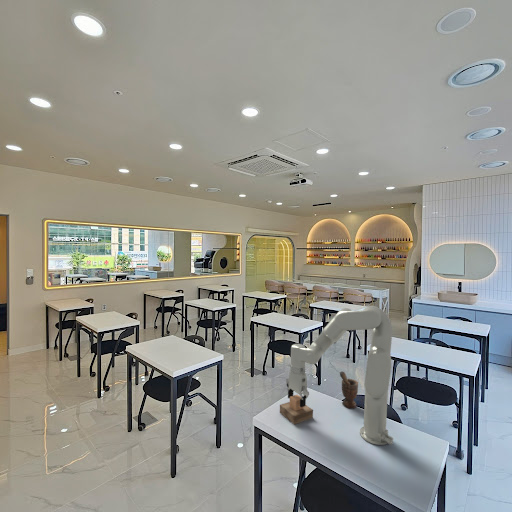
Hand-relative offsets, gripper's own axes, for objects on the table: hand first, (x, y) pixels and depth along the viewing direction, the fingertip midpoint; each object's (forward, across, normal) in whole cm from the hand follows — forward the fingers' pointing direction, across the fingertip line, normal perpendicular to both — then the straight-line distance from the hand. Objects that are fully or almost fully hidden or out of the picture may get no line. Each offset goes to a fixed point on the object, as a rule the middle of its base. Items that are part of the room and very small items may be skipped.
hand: (296, 401), depth 149 cm
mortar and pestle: (+7, -7, -31) cm, 33 cm away
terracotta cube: (+3, 0, 0) cm, 3 cm away
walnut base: (+7, 0, 0) cm, 7 cm away
